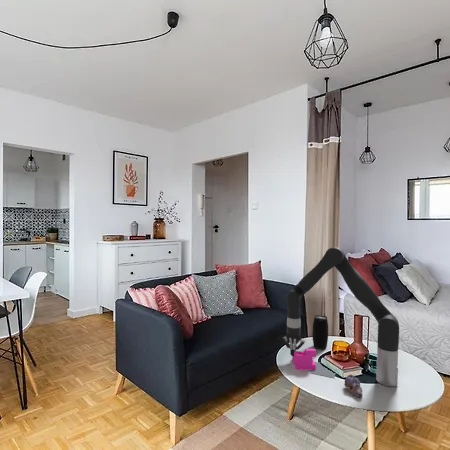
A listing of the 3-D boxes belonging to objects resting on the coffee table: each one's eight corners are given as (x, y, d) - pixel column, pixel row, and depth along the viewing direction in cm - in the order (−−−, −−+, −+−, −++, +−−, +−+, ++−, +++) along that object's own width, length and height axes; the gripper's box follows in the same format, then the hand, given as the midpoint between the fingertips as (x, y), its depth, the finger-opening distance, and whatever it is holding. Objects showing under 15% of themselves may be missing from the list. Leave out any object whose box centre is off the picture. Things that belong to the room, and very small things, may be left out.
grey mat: (336, 366, 175) (336, 366, 175) (334, 378, 162) (334, 377, 162) (314, 362, 179) (314, 361, 179) (310, 373, 167) (310, 372, 167)
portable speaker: (310, 345, 203) (310, 314, 202) (323, 344, 204) (324, 314, 204) (316, 350, 194) (317, 319, 194) (330, 349, 196) (331, 318, 196)
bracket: (315, 369, 170) (315, 350, 170) (296, 369, 170) (296, 350, 170) (310, 359, 182) (310, 341, 182) (292, 359, 182) (292, 341, 182)
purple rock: (366, 400, 143) (367, 387, 143) (348, 398, 144) (349, 385, 144) (358, 386, 155) (359, 373, 155) (342, 384, 156) (342, 372, 156)
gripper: (306, 325, 179) (306, 355, 179) (283, 321, 184) (283, 351, 184) (304, 329, 172) (303, 361, 172) (280, 325, 177) (279, 356, 178)
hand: (293, 355), depth 178 cm, fingers closed
